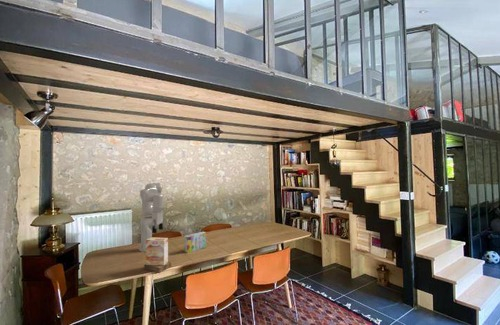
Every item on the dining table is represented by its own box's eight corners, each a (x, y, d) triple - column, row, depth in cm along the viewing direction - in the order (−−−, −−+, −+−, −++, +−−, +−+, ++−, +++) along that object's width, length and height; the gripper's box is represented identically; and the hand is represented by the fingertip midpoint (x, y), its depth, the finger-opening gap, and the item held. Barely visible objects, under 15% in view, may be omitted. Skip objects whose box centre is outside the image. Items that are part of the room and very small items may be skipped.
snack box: (203, 246, 240) (203, 231, 240) (206, 247, 236) (206, 232, 236) (184, 251, 225) (184, 235, 225) (187, 253, 221) (187, 236, 221)
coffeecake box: (145, 264, 186) (145, 239, 186) (150, 261, 193) (150, 236, 193) (163, 265, 184) (163, 240, 184) (168, 262, 191) (168, 237, 191)
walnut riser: (156, 264, 197) (156, 258, 197) (170, 267, 190) (170, 262, 191) (144, 269, 187) (144, 264, 187) (159, 273, 180) (159, 268, 180)
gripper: (158, 207, 198) (158, 227, 199) (147, 211, 181) (147, 234, 181) (167, 207, 198) (167, 228, 198) (156, 212, 180) (156, 234, 180)
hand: (157, 231), depth 190 cm, fingers open, 9 cm apart
